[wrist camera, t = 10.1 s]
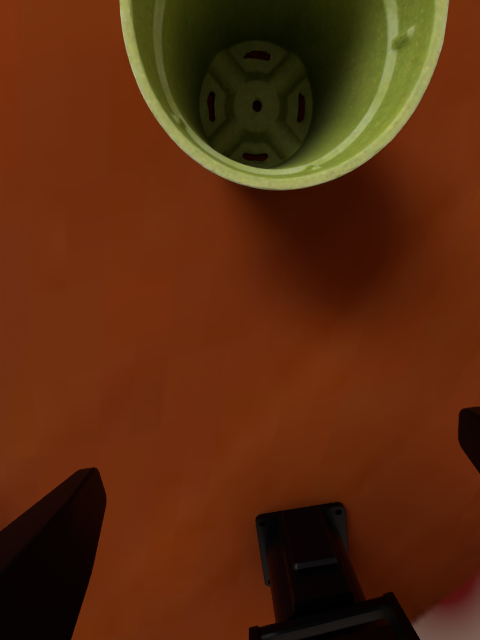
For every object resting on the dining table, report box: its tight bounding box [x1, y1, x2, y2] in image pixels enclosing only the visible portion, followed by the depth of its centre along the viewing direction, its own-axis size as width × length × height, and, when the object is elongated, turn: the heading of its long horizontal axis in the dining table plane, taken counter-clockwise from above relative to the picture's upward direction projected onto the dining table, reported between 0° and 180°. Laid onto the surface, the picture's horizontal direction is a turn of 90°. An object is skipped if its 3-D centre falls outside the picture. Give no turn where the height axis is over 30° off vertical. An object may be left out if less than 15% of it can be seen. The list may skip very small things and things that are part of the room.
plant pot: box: [120, 0, 449, 190], centre depth 14 cm, size 9×9×9 cm
